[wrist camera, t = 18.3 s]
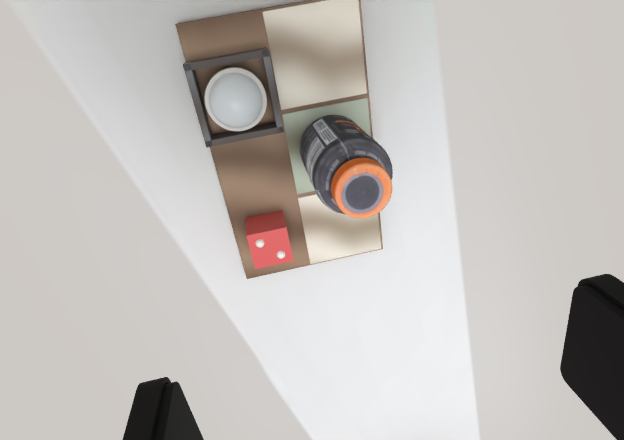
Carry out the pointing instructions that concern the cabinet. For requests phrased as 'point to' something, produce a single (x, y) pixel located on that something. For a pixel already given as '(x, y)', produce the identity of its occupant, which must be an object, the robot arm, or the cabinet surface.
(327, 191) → the pill bottle
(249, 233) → the red die
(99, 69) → the cabinet surface
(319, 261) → the game board
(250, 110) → the dome
